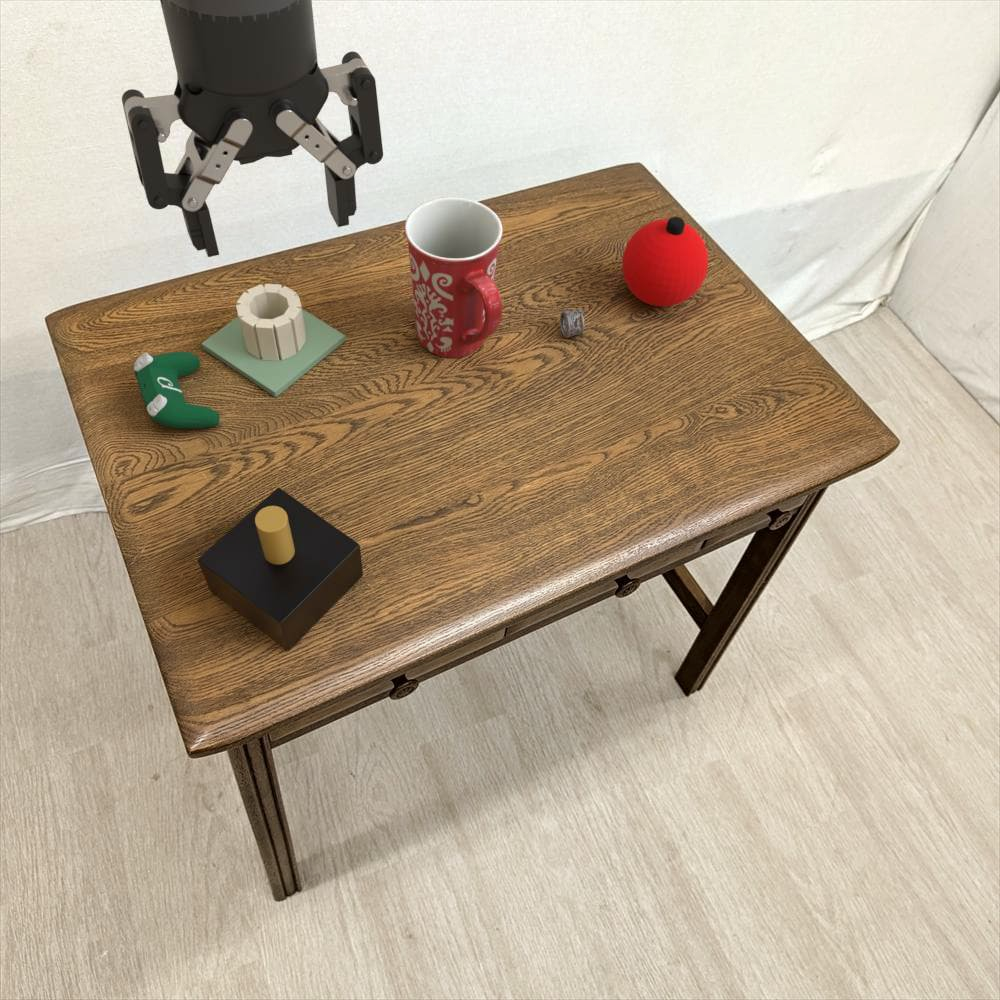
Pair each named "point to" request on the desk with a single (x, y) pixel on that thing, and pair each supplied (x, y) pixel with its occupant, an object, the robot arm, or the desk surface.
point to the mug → (454, 274)
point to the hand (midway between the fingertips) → (275, 233)
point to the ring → (271, 321)
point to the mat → (282, 372)
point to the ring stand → (282, 567)
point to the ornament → (665, 262)
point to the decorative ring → (572, 318)
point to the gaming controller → (171, 391)
